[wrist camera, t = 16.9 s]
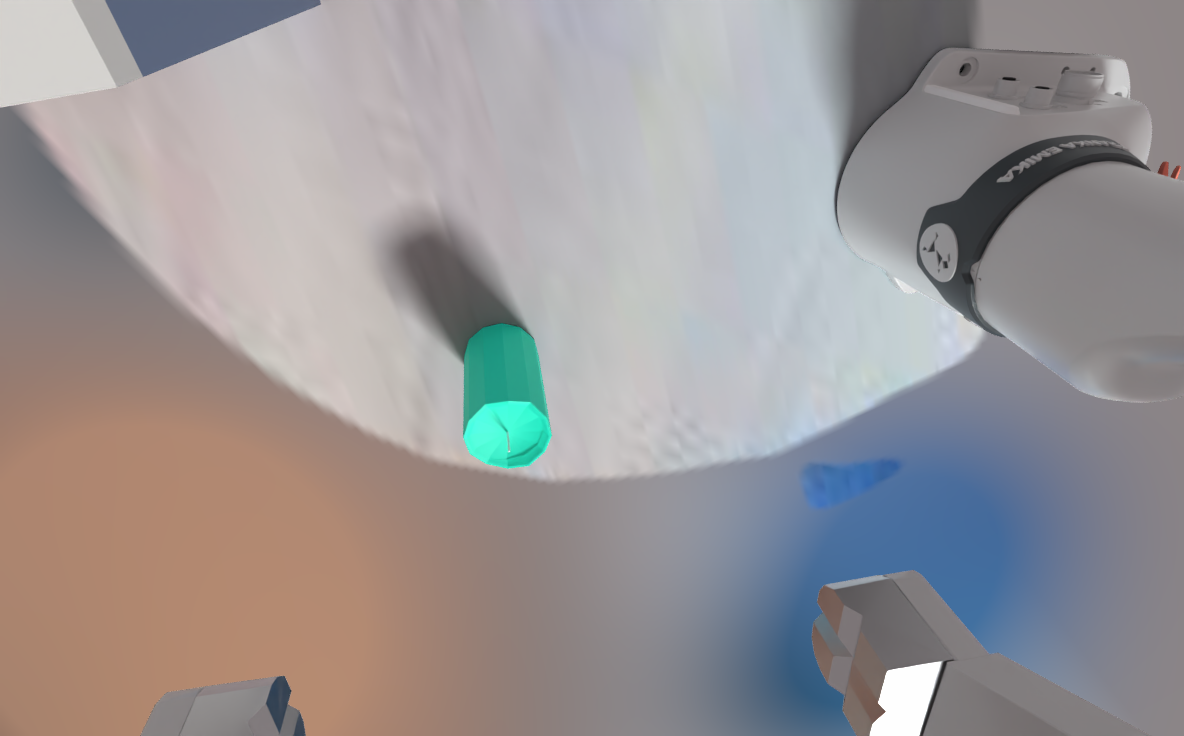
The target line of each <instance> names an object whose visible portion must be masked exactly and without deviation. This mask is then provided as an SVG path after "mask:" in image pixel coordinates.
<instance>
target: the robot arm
mask: <svg viewBox="0 0 1184 736" xmlns="http://www.w3.org/2000/svg"><path fill="white" fill-rule="evenodd" d="M963 64H965V67H964V70H963V71H962V72H961V73H960V74H959V71H960V68H961V66H962V65H963ZM1151 136H1152V121H1151V117H1150V113H1149V111H1148V109H1147V108H1146V106H1145V105H1144V104H1143V103H1141V102H1138V101H1135V100H1132V99H1130V78H1129V72H1128V68H1127V65H1126V62H1125V61H1124V60H1122V59H1120V58H1117V57H1114V56H1109V55H1094V54H1074V53H1053V52H1033V51H1012V50H991V49H971V48H946V49H943V50H941V51H939V52H938V53H937V54H936V55H935V56H934V57H933V58H932V59H931V60H930V61H929V63H928V64H927V65H926V67H925V68H924V70H923V71H922V73H921V74H920V76H919V77H918V79H917V80H916V82H915V83H914V85H913V86H912V88H911V89H910V90H909V92H908V93H907V94H906V95H905V96H904V97H902V98H901V99H900V100H899V101H898V102H897V103H895V104H894V105H893V106H892V107H891V108H890V109H888V110H887V111H886V112H885V113H884V114H883V115H882V116H881V117H879V118H878V120H877V121H876V122H875V123H874V124H873V125H872V126H871V127H870V128H869V129H868V131H867V132H866V133H865V135H864V136H863V137H862V139H861V140H860V142H859V143H858V144H857V146H856V148H855V149H854V151H853V153H852V155H851V157H850V159H849V161H848V163H847V165H846V168H845V170H844V173H843V176H842V179H841V183H840V186H839V192H838V199H837V216H838V223H839V227H840V230H841V233H842V236H843V238H844V240H845V242H846V243H847V245H848V246H849V247H850V249H851V250H852V251H853V252H854V253H855V254H856V255H857V256H859V257H860V258H861V259H863V260H865V261H866V262H869V263H871V264H873V265H875V266H877V267H879V268H881V269H882V270H884V271H885V272H886V274H887V276H888V277H889V279H890V280H891V282H892V283H893V285H894V286H895V287H897V288H898V289H900V290H901V291H903V292H905V293H909V294H911V293H916V292H920V293H922V294H923V295H925V296H927V297H928V298H930V299H932V300H934V301H935V302H937V303H939V304H941V305H942V306H944V307H946V308H948V309H949V310H951V311H953V312H955V313H957V314H959V315H964V318H965V319H966V320H968V321H969V322H971V323H972V324H974V325H976V326H978V327H980V328H983V329H984V330H986V331H988V332H990V333H991V334H994V335H997V336H1000V337H1006V338H1008V339H1010V340H1011V341H1012V342H1014V343H1015V344H1016V345H1018V346H1019V347H1021V348H1022V349H1023V350H1025V351H1026V352H1027V353H1029V354H1030V355H1031V356H1033V357H1034V358H1036V359H1037V360H1038V361H1040V362H1041V363H1042V364H1044V365H1045V366H1047V367H1048V368H1049V369H1050V370H1052V371H1053V372H1055V373H1056V374H1057V375H1059V376H1060V377H1061V378H1063V379H1064V380H1065V381H1067V382H1068V383H1069V384H1071V385H1072V386H1074V387H1075V388H1076V389H1078V390H1080V391H1082V392H1084V393H1087V394H1089V395H1092V396H1096V397H1100V398H1105V399H1110V400H1117V401H1127V402H1143V403H1144V402H1158V401H1165V400H1170V399H1175V398H1179V397H1182V396H1184V181H1181V180H1178V179H1177V178H1178V175H1179V172H1180V169H1181V166H1176V168H1175V169H1174V171H1173V173H1172V175H1171V177H1168V162H1163V163H1162V164H1161V166H1160V168H1159V171H1158V173H1154V172H1151V170H1150V169H1149V168H1148V167H1147V166H1146V162H1147V158H1148V154H1149V150H1150V144H1151ZM817 603H818V605H819V606H820V608H821V610H822V611H823V613H822V614H821V615H820V616H819V617H818V618H817V619H816V620H815V621H814V623H813V631H812V641H813V648H814V653H815V657H816V660H817V662H818V665H819V668H820V670H821V672H822V674H823V676H824V677H825V679H826V681H827V683H828V684H829V685H830V686H832V687H833V688H835V689H836V690H838V691H839V692H841V693H842V694H844V703H843V712H844V714H845V716H846V717H847V719H848V721H849V723H850V725H851V726H852V728H853V730H854V732H855V734H856V735H857V736H1150V735H1148V734H1147V733H1145V732H1143V731H1141V730H1139V729H1137V728H1135V727H1134V726H1132V725H1130V724H1128V723H1126V722H1124V721H1123V720H1121V719H1119V718H1117V717H1115V716H1113V715H1111V714H1110V713H1108V712H1106V711H1104V710H1102V709H1100V708H1099V707H1097V706H1095V705H1093V704H1091V703H1090V702H1088V701H1086V700H1084V699H1082V698H1080V697H1079V696H1077V695H1075V694H1073V693H1071V692H1069V691H1067V690H1065V689H1064V688H1062V687H1060V686H1058V685H1056V684H1055V683H1053V682H1051V681H1049V680H1047V679H1045V678H1044V677H1042V676H1040V675H1038V674H1036V673H1034V672H1033V671H1031V670H1029V669H1027V668H1025V667H1023V666H1022V665H1019V664H1018V663H1016V662H1014V661H1012V660H1011V659H1009V658H1007V657H1005V656H1003V655H1001V654H999V653H994V654H989V653H988V652H987V651H986V650H985V649H984V647H983V646H982V645H981V644H980V643H979V642H978V641H977V639H976V638H975V637H974V636H973V635H972V633H971V632H970V631H969V630H968V629H967V628H966V626H965V625H964V624H963V623H962V622H961V620H960V619H959V618H958V617H957V616H956V615H955V613H954V612H953V611H952V610H951V609H950V608H949V606H948V605H947V604H946V603H945V602H944V601H943V599H942V598H941V597H940V596H939V595H938V594H937V592H936V591H935V590H934V589H933V588H932V586H931V585H930V584H929V583H928V582H927V581H926V579H925V578H924V577H923V576H922V575H921V574H919V573H918V572H916V571H914V570H911V571H905V572H899V573H893V574H887V575H883V576H881V575H877V576H871V577H866V578H860V579H855V580H849V581H844V582H839V583H832V584H827V585H824V586H823V587H822V588H821V589H820V591H819V595H818V601H817ZM290 694H291V689H290V687H289V685H288V682H287V680H286V678H285V676H278V677H270V678H263V679H255V680H248V681H241V682H234V683H227V684H219V685H212V686H205V687H199V688H193V689H186V690H180V691H173V692H167V693H166V694H165V695H164V696H163V697H162V698H161V699H160V700H159V701H158V702H157V703H156V705H155V706H154V708H153V710H152V712H151V714H150V716H149V718H148V721H147V723H146V725H145V727H144V729H143V731H142V733H141V735H140V736H306V734H305V728H304V722H303V719H302V716H301V714H300V712H299V710H297V709H295V708H293V707H291V706H290V705H288V701H289V698H290Z"/></svg>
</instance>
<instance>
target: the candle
mask: <svg viewBox="0 0 1184 736" xmlns="http://www.w3.org/2000/svg"><path fill="white" fill-rule="evenodd" d="M551 436H552V434H551V428H550V422H549V416H548V410H547V404H546V398H545V392H544V386H543V380H542V374H541V368H540V362H539V356H538V352H537V348H536V345H535V341H534V339H533V338H532V337H531V336H530V335H529V334H528V333H526V332H525V331H524V330H523V329H522V328H521V327H517V326H512V325H508V324H503V323H500V324H496V325H492V326H488V327H484V328H482V329H481V330H479V331H478V332H477V333H476V334H475V335H474V336H473V337H472V338H470V339H469V341H468V345H467V348H466V352H465V355H464V421H463V438H464V441H465V443H466V446H467V448H468V450H469V453H470V454H471V455H473V456H474V457H476V458H477V459H479V460H481V461H482V462H484V463H486V464H489V465H494V466H498V467H503V468H507V469H508V468H516V467H524V466H530V465H531V464H532V463H533V462H534V461H535V460H536V459H537V458H539V457H540V456H541V455H542V454H543V453H544V452H545V451H546V448H547V446H548V443H549V441H550V439H551Z"/></svg>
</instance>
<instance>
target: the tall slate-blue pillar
mask: <svg viewBox="0 0 1184 736" xmlns="http://www.w3.org/2000/svg"><path fill="white" fill-rule="evenodd" d="M320 4H321V3H320V0H0V107H6V106H12V105H18V104H24V103H30V102H35V101H41V100H47V99H53V98H59V97H65V96H70V95H76V94H82V93H88V92H94V91H99V90H105V89H111V88H117V87H120V86H122V85H124V84H127V83H129V82H132V81H134V80H137V79H139V78H142V77H144V76H147V75H149V74H151V73H154V72H156V71H159V70H161V69H164V68H166V67H169V66H171V65H173V64H176V63H178V62H181V61H183V60H186V59H188V58H191V57H193V56H196V55H198V54H200V53H203V52H205V51H208V50H210V49H213V48H215V47H218V46H220V45H222V44H225V43H227V42H230V41H232V40H235V39H237V38H240V37H242V36H244V35H247V34H249V33H252V32H254V31H257V30H259V29H262V28H264V27H267V26H269V25H271V24H274V23H276V22H279V21H281V20H284V19H286V18H289V17H291V16H293V15H296V14H298V13H301V12H303V11H306V10H308V9H311V8H313V7H316V6H318V5H320Z"/></svg>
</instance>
